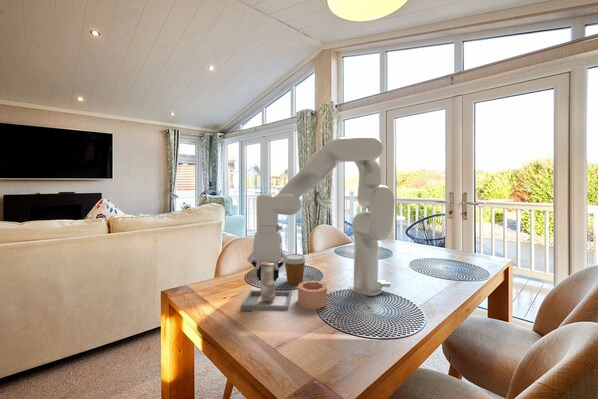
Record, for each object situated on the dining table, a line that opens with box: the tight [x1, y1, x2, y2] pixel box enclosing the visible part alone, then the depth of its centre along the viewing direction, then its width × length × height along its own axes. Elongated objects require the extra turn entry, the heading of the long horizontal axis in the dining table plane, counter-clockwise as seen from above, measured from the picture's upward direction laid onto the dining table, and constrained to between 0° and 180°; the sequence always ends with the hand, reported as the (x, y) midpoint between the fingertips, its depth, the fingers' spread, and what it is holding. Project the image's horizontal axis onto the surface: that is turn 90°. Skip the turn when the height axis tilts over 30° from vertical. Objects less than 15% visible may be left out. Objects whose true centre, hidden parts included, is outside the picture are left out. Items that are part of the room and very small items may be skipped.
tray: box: [240, 289, 293, 313], centre depth 102 cm, size 16×13×2 cm
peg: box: [260, 262, 276, 302], centre depth 101 cm, size 5×5×12 cm
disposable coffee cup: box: [284, 253, 307, 286], centre depth 121 cm, size 10×10×12 cm
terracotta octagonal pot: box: [297, 280, 328, 310], centre depth 101 cm, size 10×10×7 cm
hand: (267, 279), depth 101 cm, fingers closed on peg, 4 cm apart
